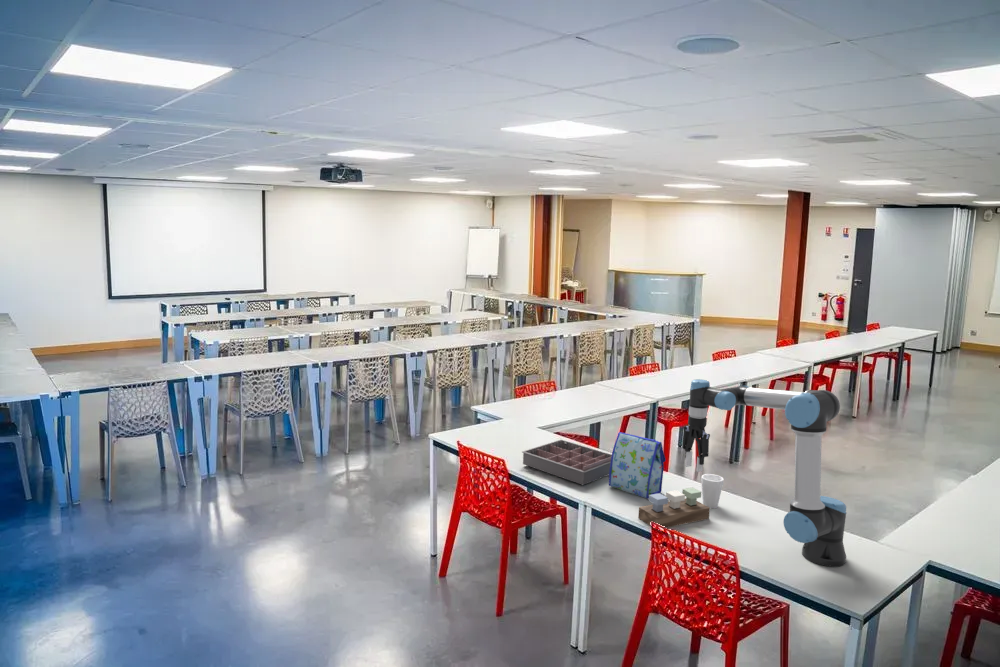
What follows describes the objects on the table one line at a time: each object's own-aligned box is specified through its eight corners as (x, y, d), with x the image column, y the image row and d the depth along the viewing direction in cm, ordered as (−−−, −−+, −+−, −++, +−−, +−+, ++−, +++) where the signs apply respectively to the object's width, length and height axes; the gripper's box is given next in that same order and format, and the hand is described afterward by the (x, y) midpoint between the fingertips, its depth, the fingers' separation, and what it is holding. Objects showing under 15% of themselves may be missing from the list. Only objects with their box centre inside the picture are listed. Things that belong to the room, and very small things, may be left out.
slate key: (667, 511, 283) (668, 497, 282) (656, 513, 281) (657, 499, 280) (658, 506, 288) (659, 493, 287) (648, 508, 286) (649, 495, 285)
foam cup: (706, 510, 299) (709, 482, 297) (695, 502, 307) (697, 474, 306) (725, 508, 301) (727, 480, 299) (713, 500, 310) (716, 473, 308)
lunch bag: (665, 491, 320) (669, 437, 316) (648, 501, 307) (652, 445, 303) (623, 479, 334) (626, 427, 330) (606, 488, 321) (609, 435, 317)
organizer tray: (560, 453, 371) (561, 435, 369) (622, 472, 343) (623, 453, 342) (520, 466, 348) (521, 447, 346) (583, 488, 320) (584, 468, 319)
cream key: (684, 508, 287) (685, 494, 286) (673, 510, 285) (674, 496, 284) (675, 503, 292) (676, 490, 291) (665, 505, 290) (666, 492, 289)
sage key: (700, 505, 291) (701, 491, 290) (690, 507, 289) (691, 493, 288) (691, 500, 296) (692, 487, 295) (681, 502, 293) (682, 489, 293)
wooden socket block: (708, 518, 290) (709, 507, 289) (656, 529, 278) (657, 518, 277) (689, 508, 300) (690, 497, 300) (638, 518, 288) (639, 507, 288)
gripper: (720, 421, 280) (716, 475, 283) (689, 409, 297) (685, 460, 300) (706, 423, 276) (702, 477, 280) (675, 411, 293) (672, 462, 297)
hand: (693, 468), depth 290 cm, fingers open, 6 cm apart
